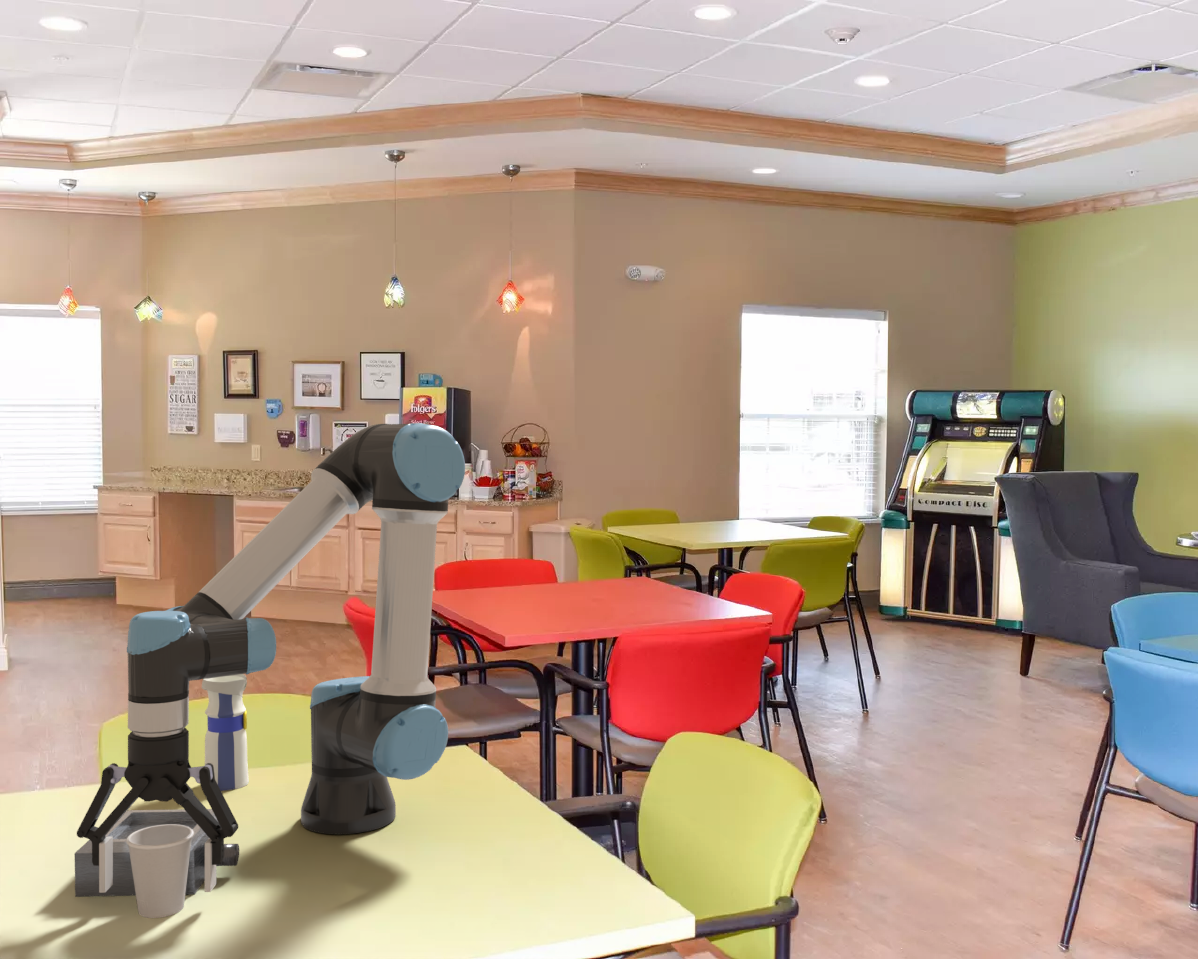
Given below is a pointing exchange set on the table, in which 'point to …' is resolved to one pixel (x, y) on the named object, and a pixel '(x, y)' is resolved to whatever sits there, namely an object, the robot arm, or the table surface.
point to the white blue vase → (227, 731)
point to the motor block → (121, 856)
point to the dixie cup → (160, 868)
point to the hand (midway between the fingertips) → (158, 888)
